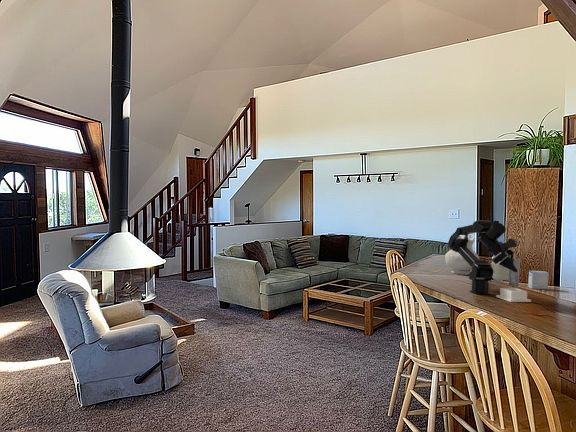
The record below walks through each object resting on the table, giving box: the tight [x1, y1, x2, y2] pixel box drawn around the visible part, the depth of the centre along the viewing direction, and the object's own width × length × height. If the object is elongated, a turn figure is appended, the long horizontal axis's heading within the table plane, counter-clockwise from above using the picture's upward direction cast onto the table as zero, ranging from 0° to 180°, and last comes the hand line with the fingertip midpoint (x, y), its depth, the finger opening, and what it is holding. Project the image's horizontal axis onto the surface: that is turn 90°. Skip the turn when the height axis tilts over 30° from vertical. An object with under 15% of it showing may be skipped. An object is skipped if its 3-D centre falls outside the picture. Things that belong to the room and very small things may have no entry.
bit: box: [508, 257, 521, 288], centre depth 196 cm, size 4×4×12 cm
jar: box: [491, 253, 516, 281], centre depth 253 cm, size 13×13×18 cm
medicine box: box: [527, 270, 550, 290], centre depth 225 cm, size 8×4×9 cm, turn 84°
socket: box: [495, 287, 532, 303], centre depth 196 cm, size 10×10×4 cm
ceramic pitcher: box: [444, 234, 480, 276], centre depth 268 cm, size 22×20×25 cm
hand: (517, 271), depth 195 cm, fingers closed on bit, 4 cm apart
